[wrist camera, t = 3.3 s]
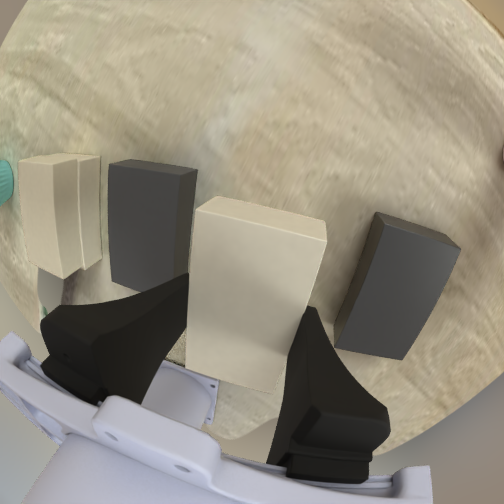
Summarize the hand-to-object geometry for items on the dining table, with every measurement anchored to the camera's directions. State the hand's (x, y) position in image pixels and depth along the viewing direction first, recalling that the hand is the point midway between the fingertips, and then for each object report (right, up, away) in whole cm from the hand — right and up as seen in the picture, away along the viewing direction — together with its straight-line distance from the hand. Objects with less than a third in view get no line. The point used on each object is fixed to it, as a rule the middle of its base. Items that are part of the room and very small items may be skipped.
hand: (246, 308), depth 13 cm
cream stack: (-15, +7, +8) cm, 18 cm away
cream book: (0, +1, +1) cm, 1 cm away
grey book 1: (-7, +5, +7) cm, 10 cm away
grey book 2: (+10, 0, +5) cm, 11 cm away
